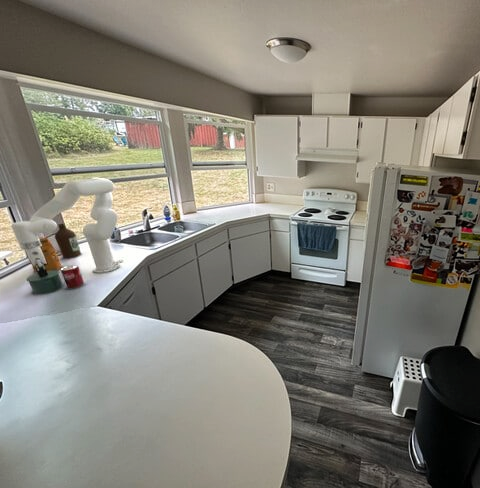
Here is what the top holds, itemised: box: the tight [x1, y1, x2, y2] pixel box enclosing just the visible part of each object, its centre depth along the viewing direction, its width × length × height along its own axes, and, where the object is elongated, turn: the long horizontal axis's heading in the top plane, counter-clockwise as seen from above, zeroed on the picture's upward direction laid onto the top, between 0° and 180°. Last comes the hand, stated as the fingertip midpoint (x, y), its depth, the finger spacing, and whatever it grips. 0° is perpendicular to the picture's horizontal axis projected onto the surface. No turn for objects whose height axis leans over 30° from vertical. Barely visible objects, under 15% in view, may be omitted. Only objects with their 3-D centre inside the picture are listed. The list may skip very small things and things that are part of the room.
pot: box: [28, 273, 64, 295], centre depth 141 cm, size 12×17×8 cm
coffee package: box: [25, 237, 63, 274], centre depth 160 cm, size 10×12×22 cm
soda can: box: [60, 264, 85, 290], centre depth 144 cm, size 7×7×12 cm
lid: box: [26, 270, 60, 283], centre depth 139 cm, size 13×13×6 cm
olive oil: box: [54, 222, 82, 259], centre depth 181 cm, size 11×11×25 cm
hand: (42, 274), depth 139 cm, fingers open, 5 cm apart
